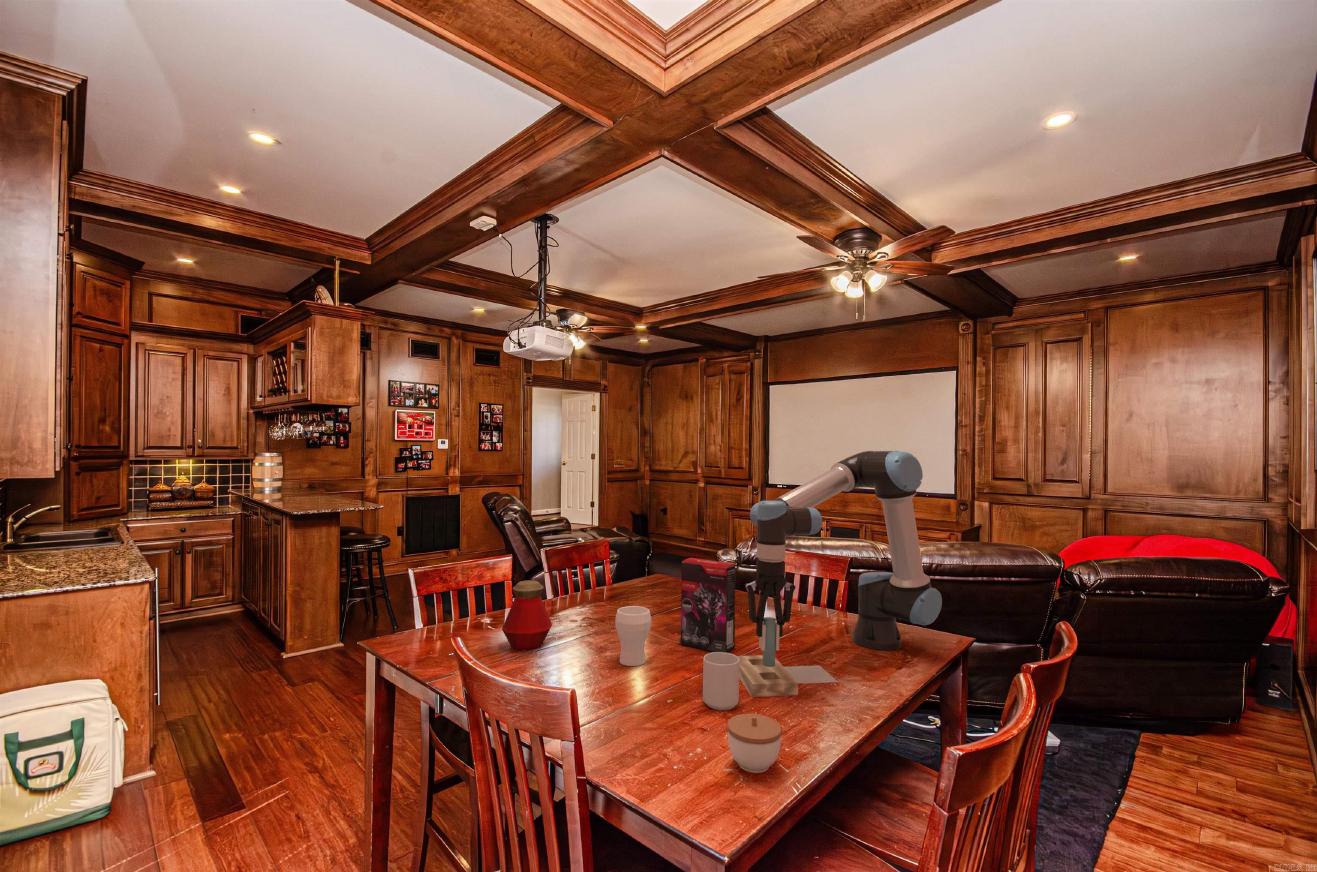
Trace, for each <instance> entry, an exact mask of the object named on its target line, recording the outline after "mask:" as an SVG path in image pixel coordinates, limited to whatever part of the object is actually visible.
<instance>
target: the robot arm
mask: <svg viewBox="0 0 1317 872" xmlns="http://www.w3.org/2000/svg"><path fill="white" fill-rule="evenodd" d="M923 476H924V475H923V468H922V466H921V463H920V461H919V460H918V458H917V457H916V456H914V455H913V454H911V453H909V452H908V451H900V450H876V451H875V450H865V451H861V452H858V453H856V454H853V455H850V456H848V457H846V458H844V459H842V460H840V461H838V462H836V463H834V464H833V465H832V466H831V467H830V470H828V471H826V472H824V473H822V474H820V475H818V476H817V477H814V478H813V479H811V480H809V481H807V482H805V483H803V484H801V485H799V486H798V487H795V488H794V489H792V490H790V491H788V492H786V493H784V494H782V495H780V496H779V497H776V498H775V499H772V500H761V501H760V502H757V503H755V504H754V505H752V507H751V509H750V512H749V518H750V521H751V523H752V524H753V525H754V526H755V527H756V557H757V559H756V560H755V561H756V564H755V565H756V567H755V569H756V571H755V573H756V575H755V578H754V581H752V582H750V583H748V582H747V583H745V584H744V585H745V589H746V591H747V600H748V602H747V603H748V616H749V619H748V620H750V621H751V622H752V623H754V624H756V625H755V626H756V627H755V630H756V632H755V633H756V636H757V637H758V638H759V641H758V642H759V643H758V644H759V648H760V650H761V651H762V652H763V651H765V637H766V625H764V624H763V620H764V618H765V615H766V614H765V613H766V608H767V603H768V601H767V600H768V599H769V596H772V598H773V599H772V600H773V607H774V613H775V614H774V615H775V619H776V635H775V651H780V637H783V635H784V634H783V632H784V630H783V629H784V626H785V623H790V621H791V615H792V614H791V612H792V604H793V594H794V592H795V590H796V584H793V583H792V582H788V581H787V578H786V562H785V559H786V544H787V543H786V539H787V537H791V536H793V537H795V536H807V537H808V536H811V535H816V534H818V533H819V532H820V530H821V529H822V527H823V517H822V514H821V513H820V511H819V510H818V509H816V508H814V507H817V506H818V505H820V504H821V503H823V502H825V501H827V500H829V499H831V498H833V497H835V496H836V495H838V494H840V493H841V492H850V491H852V490H854V489H857V488H858V489H859V488H870V489H874V492H875V493H874V494H875V497H876V498H877V500H879V501H881V503H882V509H883V516H884V521H885V527H886V533H887V540H888V546H889V552H890V559H891V566H892V572H890V571H889V572H888V571H872V572H871V571H869V572H863V573H861V574H860V575H859V578H858V585H857V588H858V589H857V590H858V591H857V593H858V595H857V596H858V597H857V598H858V611H857V613H858V616H857V621H856V622H855V623H856V624H855V625H854V629H853V632H852V642H854V643H855V644H857V645H859V646H861V647H863V648H867V649H872V650H878V651H879V650H881V651H894V650H898V649H900V648H902V637H901V633H900V631H899V628H898V627H899V626H898V624H897V619H900V620H902V621H903V620H904V621H907V622H910V623H911V624H913V625H917V624H918V625H920V626H928V625H931V624H933V623H934V622H935V620H936V619H937V618H938V617H939V616H940V615H939V614H940V612H941V611H942V610H941V609H942V605H943V598H942V594H941V592H940V591H939V590H938V589H937V588H935V587H932V584H931V578H930V576H929V575H927V574H925V573H924V568H923V561H922V554H921V553H922V552H921V548H920V542H919V540H920V539H919V535H918V528H917V523H916V521H917V520H916V517H915V509H914V504H913V498H914V497H915V496H916V495H917V490H918V489H919V488H920V486H921V484H922V480H923ZM756 587H757V589H758V591H759V595H758V596H759V599H758V605H756V593H755V591H756ZM783 589H784V590H785V592H784V599H783V600H784V601H783V607H782V600H781V599H782V595H781V592H782V591H783ZM756 606H757V608H756ZM756 610H757V611H756Z"/></svg>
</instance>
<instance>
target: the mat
mask: <svg viewBox="0 0 1317 872" xmlns="http://www.w3.org/2000/svg"><path fill="white" fill-rule="evenodd" d="M783 667H784V668H785V669H786V670H787V671H788V672H789V673H790V674H791V675H792V677H793V678H794V679H795V680H796V681H797V682H798V685H799V684H823V683H825V684H827V683H828V684H829V683H838V681H837V680H836V679H835V678H834V677H833V676H832V675H831V674H830V673H828V671H826V670H825V669H824V668H823V667H822V666H821V665H795V666H791V665H790V666H783Z"/></svg>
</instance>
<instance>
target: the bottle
mask: <svg viewBox="0 0 1317 872" xmlns="http://www.w3.org/2000/svg"><path fill="white" fill-rule="evenodd" d="M544 587H545V586H544V585H542V584H541V583H540V582H539V581H537V580H523V581H522V580H521V581H519V582H518V583H516V584H515V586H513V587H512V588H511V590H512V592H513V594H514V600H513V602H512V605H511V606H510V609H509V612H508V614H507V616H506V618H505V621H504V623H503V625H502V628H501V631H502V633H503V634H504V636H505V638H506V640H507V641H508V643H509V644H508V645H510V647H511V648H512V649H513V650H516V651H530V650H531V651H532V650H536V649H539V648H541V647H542V645H543V643H544V642H545V640H546V638H547V636H548V634H549V633H550V630H551V628H552V626H553V623H552V620H551V618H550V616H549V613H548V611H547V609H546V605H545V604H544V601H543V599H542V598H543V597H541V594H542V593H543V590H544Z"/></svg>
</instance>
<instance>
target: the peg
mask: <svg viewBox="0 0 1317 872" xmlns="http://www.w3.org/2000/svg"><path fill="white" fill-rule="evenodd" d="M776 623H777V621H776V617H772V616H766V617H765V616H764V620H763V624H764V625H766V637H765V651H762V655H763V665H764V666H767V667H774V666H775V658H776V650H775V635H776Z"/></svg>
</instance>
